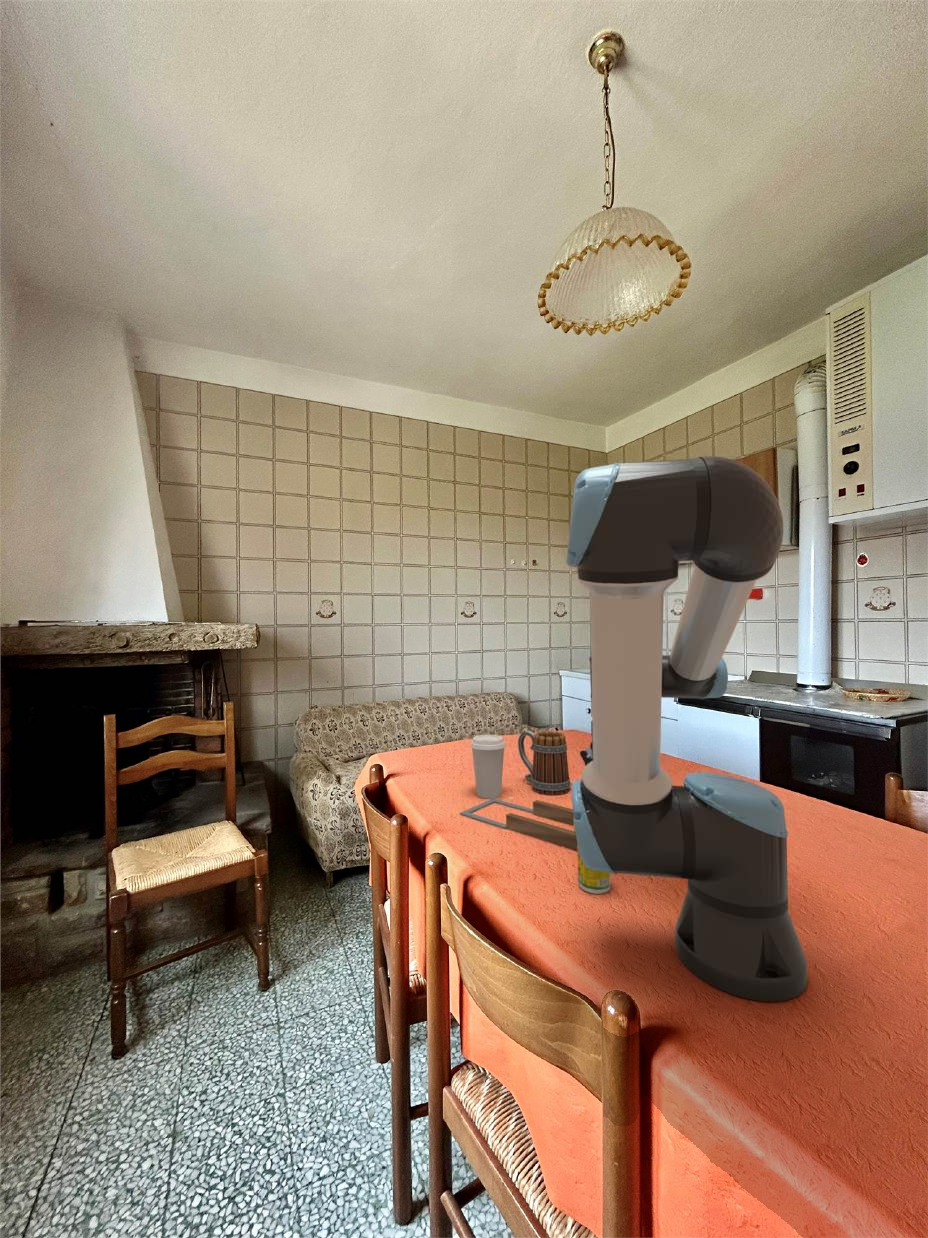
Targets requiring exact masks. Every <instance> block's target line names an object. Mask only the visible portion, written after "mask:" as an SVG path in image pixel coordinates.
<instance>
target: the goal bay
mask: <svg viewBox="0 0 928 1238" xmlns="http://www.w3.org/2000/svg"><path fill="white" fill-rule="evenodd" d="M492 804H498V805H501V806H505V807H508V808H511V809H516V810H519V811H523V812H526V813H529V814H533V808H530V807H527V806H523V805H519V804H516V803H511V802H508V801H505V800H501V799H498V798H492V799H487V801H484V802H481V803H479V804H477V805H475V806H473V807H469V808H468V809H466V810H463V811H461V812H459V816H463V817H466V818H469V819H471V820H472V819H473V820H476V821H478V822H482V823H485V824H487V825H490V826H494V827H497V828H499V829H502V830H503V829H504V830H507V829H506V823H503V822H500V821H497V820H493V819H490V818H488V817H484V816H481V815H478V814H474V813H475V812H476V811H479V810H482V809H484V808H486V807H488V806H490V805H492Z"/></svg>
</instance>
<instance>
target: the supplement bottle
mask: <svg viewBox="0 0 928 1238" xmlns="http://www.w3.org/2000/svg"><path fill="white" fill-rule="evenodd" d="M577 880H578V886H579V887H580V888H581V889H582V890H583V891H585V892H587V893H590V894H594V895H595V894H596V895H600V894H605V893H607V892H608V891H609V890H610V889H611V885H612V884H611V873H610V872H604V871H597V870H592V869H590V868H588V867H587V866H586V865H585V864H584V863H583V861H582V859H581V857H580V853H579V849H578V851H577Z"/></svg>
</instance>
